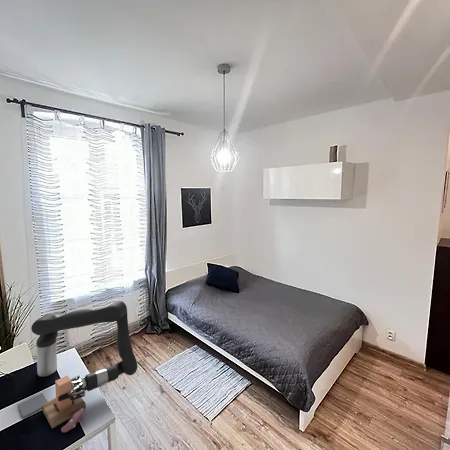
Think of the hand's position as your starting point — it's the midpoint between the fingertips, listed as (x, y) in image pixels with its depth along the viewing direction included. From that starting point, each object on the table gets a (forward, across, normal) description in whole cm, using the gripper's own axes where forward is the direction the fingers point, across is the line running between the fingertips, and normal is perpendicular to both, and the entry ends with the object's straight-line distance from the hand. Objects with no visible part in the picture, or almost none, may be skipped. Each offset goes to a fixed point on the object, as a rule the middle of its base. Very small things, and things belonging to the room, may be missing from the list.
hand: (57, 394), depth 118 cm
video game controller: (-5, +12, +9) cm, 16 cm away
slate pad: (+9, -11, +9) cm, 17 cm away
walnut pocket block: (-2, 0, +9) cm, 9 cm away
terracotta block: (-2, 0, +9) cm, 9 cm away
